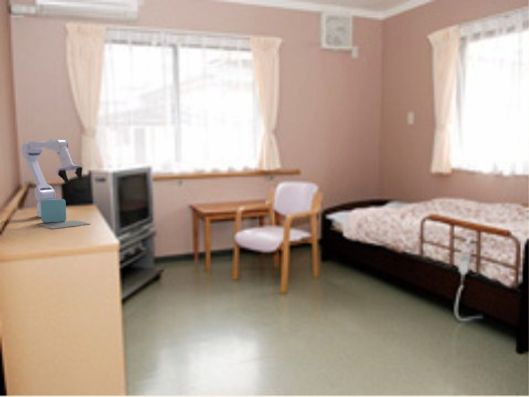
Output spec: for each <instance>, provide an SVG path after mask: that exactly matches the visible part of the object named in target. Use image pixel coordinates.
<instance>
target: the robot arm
mask: <svg viewBox="0 0 529 397" xmlns="http://www.w3.org/2000/svg"><path fill="white" fill-rule="evenodd" d="M44 148H45V149H47V150H48V151H55V154H57V156H58V159H59V160H60V161H59V162H60V164H61V167H60V166H59V167H56V168H55V169H54V172H55V173H56V174H57V175H58V177H60V178H61V179H62V181H63V182H64V183H65V184H66V185H68V184H70V181H69V178H68V175H67V172H70V171H74V170H75V172H74V174H75V175H76V177H77V179H78V182H79V183H81V182H83V168H84V167H83V165H82V164H74V163H73V159H72V157H71V155H70V152H69V149H68V148H69V143H68V141H67V140H65V139H58V138H55V139H54V138H49V139H47V140H46V141H28V142H23V143H22V145H21V149H20V151H21V153H22V156H23V158H24V159H25V161H26V164H27V166H28V169H29V170H30V173H31V176H32V178H33V181H34V182H35V185H36V187H35V188H34V190H33V192H34V198H35V200H36V201H37V204H36V215H35V217H38V218H41V201H42V200H53V199H56V196H57V193H56V190H55V189H53V187H52V185H50V184H48V183H47V181H46V180H45V179H46V178H45V176H44V175H43V174H44V173H43V172H42V169H41V168H40V165H39V162H38V160H39V159H40V157H41V155H42V152H43V151H44Z"/></svg>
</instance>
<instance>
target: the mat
mask: <svg viewBox="0 0 529 397" xmlns="http://www.w3.org/2000/svg"><path fill="white" fill-rule="evenodd" d="M81 225H82V226H88V225H91V223H89V222H86V221H81V220H76V219H75V220H74V219H73V220H65V221H64V222H49V223H41V224H38V225H37V227H38V226H39V227H40V228H41V227H42V228H46V229H49V230H57V229H66V228H74V227H80V226H81Z"/></svg>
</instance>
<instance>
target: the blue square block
mask: <svg viewBox="0 0 529 397" xmlns="http://www.w3.org/2000/svg"><path fill="white" fill-rule="evenodd" d="M66 202H67V201H66V199H63V198H57V199H56V198H55V199H53V200H42V201H41V217H40V218H41V220H40V221H41V222H42V223H43V224H49V223H57V222H65V221H67V206H66V204H67V203H66Z"/></svg>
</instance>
